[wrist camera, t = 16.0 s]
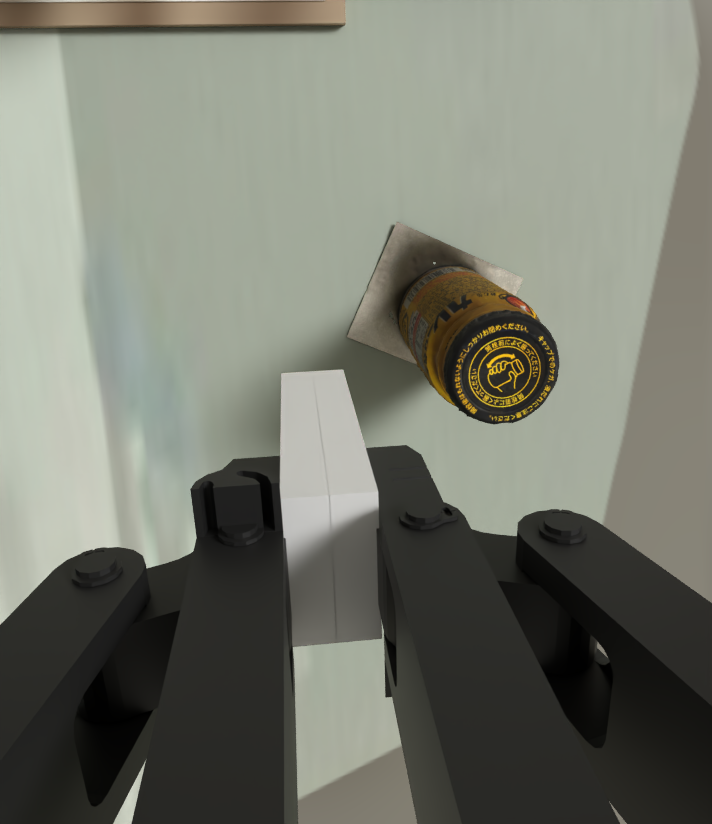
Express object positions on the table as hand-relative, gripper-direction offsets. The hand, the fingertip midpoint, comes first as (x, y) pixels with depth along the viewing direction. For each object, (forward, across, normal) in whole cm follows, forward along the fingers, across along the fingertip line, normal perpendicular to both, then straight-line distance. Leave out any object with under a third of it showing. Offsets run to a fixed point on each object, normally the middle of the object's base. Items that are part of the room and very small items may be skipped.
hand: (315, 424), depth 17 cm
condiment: (+25, +8, -2) cm, 26 cm away
